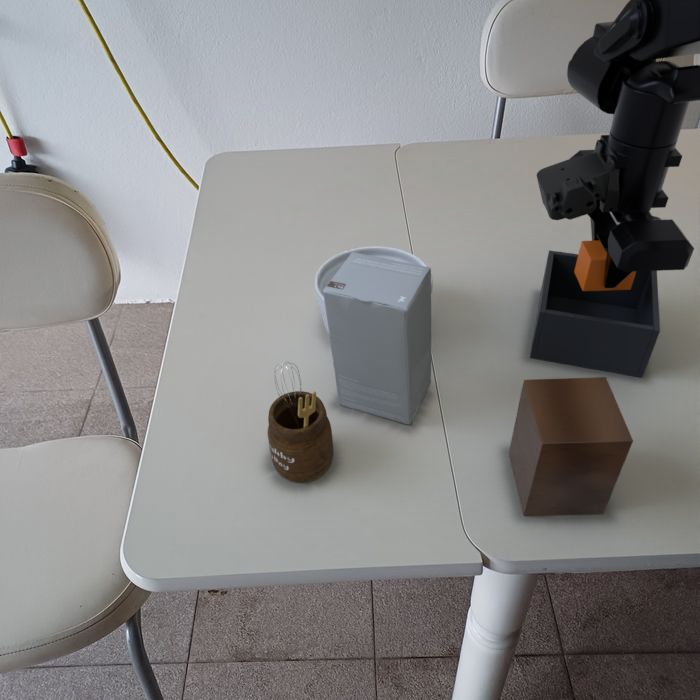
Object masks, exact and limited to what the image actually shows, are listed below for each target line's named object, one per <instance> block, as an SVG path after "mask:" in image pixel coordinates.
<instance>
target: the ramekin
mask: <svg viewBox="0 0 700 700" xmlns="http://www.w3.org/2000/svg"><path fill="white" fill-rule="evenodd" d="M352 252H356V253H360V254H365V255H370V256H375V257H380V258H384V259H389V260H394V261H399V262H404V263H409V264H414V265H419V266H424V267H429V266H428V265H427V264H426V263H425V262H424V261H423V260H422V259H421V258H420V257H418V256H417V255H415V254H413V253H411V252H408V251H406V250H403V249H400V248H396V247H392V246H391V247H390V246H379V245H375V246H374V245H372V246H370V245H369V246H360V247H356V248H351V249H347V250H345V251H342V252H338V253H337V254H335V255H333V256H331V257H330V258H328V259H327V260H326V261H325V262H323V264H321V266H319V268H318V270H317V271H316V274H315V276H314V280H313V282H314V283H313V284H314V295H315V298H316V301H317V303H318V304H319V309H320V312H321V317H322V320H323V324H324V327H325V329H326V331H327V334H329V327H328V321H327V314H326V307H325V301H324V295H323V290H324V288H325V287H326V286H327V285H328V283H329V282H330V281H331V279H332V278H333V277H334V275H335V274H336V273H337V271H338V270H339V269H340V268H341V266H342V265H343V264H344V262H345V261H346V260H347V258H348V257H349V256H350V254H351V253H352ZM432 294H433V274H432V273H431V295H432Z"/></svg>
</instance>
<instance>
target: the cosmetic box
mask: <svg viewBox="0 0 700 700" xmlns="http://www.w3.org/2000/svg"><path fill="white" fill-rule="evenodd" d="M431 274H432V268H431V267H429V266H428V267H424V266H419V265H414V264H409V263H404V262H399V261H394V260H389V259H384V258H380V257H375V256H370V255H365V254H360V253H356V252H352V253H351V254H350V256H349V257H348V258H347V260H346V261H345V262H344V264H343V265H342V266H341V268H340V269H339V270H338V271H337V273H336V274H335V275H334V277H333V278H332V279H331V281H330V282H329V283H328V285H327V286H326V287H325V288H324V290H323V295H324V301H325V307H326V314H327V321H328V327H329V333H328V335H329V340H330V350H331V355H332V363H333V369H334V376H335V384H336V391H337V398H338V404H339V405H340V406H343V407H346V408H350V409H353V410H357V411H360V412H364V413H367V414H371V415H374V416H378V417H381V418H384V419H387V420H390V421H391V420H392V421H395V422H399V423H402V424H405V425H411V424H412V423H413V420H414V418H415V417H416V414H417V412H418V411H419V409H420V406H421V404H422V402H423V400H424V398H425V397H426V394H427V392H428V390H429V387H430V386H431V384H432V294H431Z"/></svg>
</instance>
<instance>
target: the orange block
mask: <svg viewBox="0 0 700 700" xmlns="http://www.w3.org/2000/svg"><path fill="white" fill-rule="evenodd" d="M577 254H578V258H577V262H576V267H575V271H574V273H575V275H576V277H577V279H578V282H579V284H580V286H581V288H582V290H583V291H606V290H630V289H631V287H632V283H633V280H634V277H635V274H636V271H633V272H631V273H630V274H629V275H628V276H627V277H626V278H625V279H624V280H623V281H622V282H620V283H619V284H618V285H617V286H616V287H615V288H605V287H604V273H605V265H606V256H607V252H606V251H605V249H604V248H603V246H602V244H601V242H600V240H597V241H592V240H582V241H581V242H580V247H579V250H578V253H577Z"/></svg>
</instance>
